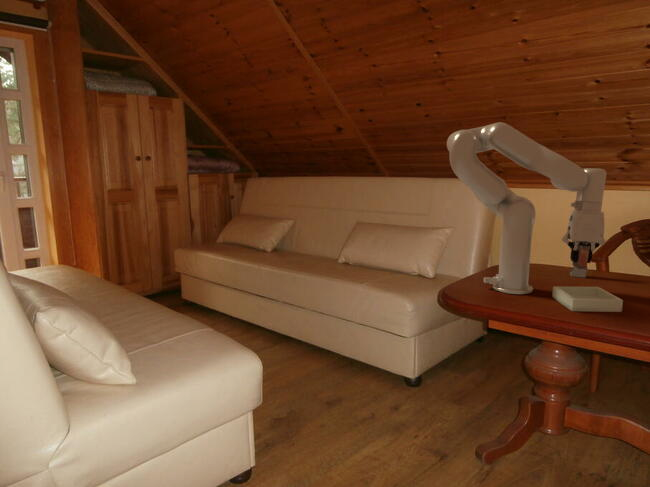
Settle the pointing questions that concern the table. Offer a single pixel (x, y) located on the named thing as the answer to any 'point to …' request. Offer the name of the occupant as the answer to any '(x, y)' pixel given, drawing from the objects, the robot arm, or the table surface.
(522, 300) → the table surface
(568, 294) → the tray
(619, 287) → the table surface
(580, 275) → the vintage mobile phone
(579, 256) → the lighter
